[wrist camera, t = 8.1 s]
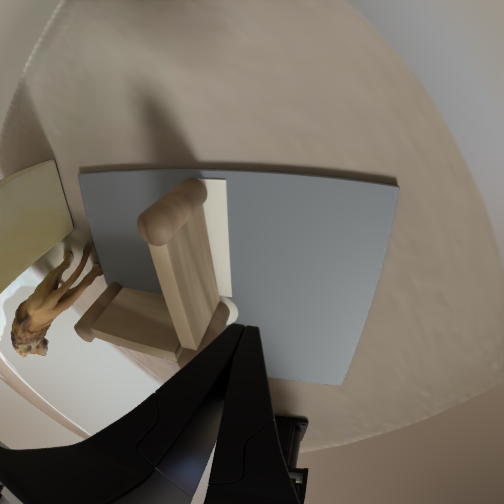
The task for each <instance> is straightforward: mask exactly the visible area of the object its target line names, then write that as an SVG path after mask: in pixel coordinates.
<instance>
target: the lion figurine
mask: <svg viewBox="0 0 504 504" xmlns="http://www.w3.org/2000/svg"><path fill="white" fill-rule="evenodd" d="M92 246H93V244H92V242H91V241H88V242H87V243H86V246H85V248H84V250H83V256H82V259H81V262H80V264H79V266H78V267H77V269H76V270H75V272H74V273H73V274H72V275H71V276H70V278H69V279H68V280H67V281H66V282H65V283H64V284H63V285H62V286H61V287H60V288H58V285H59V282H60V279H61V276H62V274H63V272H64V271H65V270H66V269H68V268H69V267H70V265H71V263H72V262H73V260H74V258H73V255H72V254H71V253H70V252H69V251H66V252H65V253H64V256H63V258H64V261H63V262H62V263H61V264H60V265H59V266H58V267H57V268H55V269H54V270H53V271H51V272H50V273H49V274H48V275H47V276H46V277H45V278H44V280H43V281H42V282H41V283H40V284H39V285H38V286H37V288H36V289H35V292H34V293H33V294H32V295H31V296H30V297H29V298H28V299H27V300H25V301H24V302H22V303H21V304H20V305H19V307H18V309H17V310H16V313H15V318H14V321H13V324H12V331H11V340H12V344H13V347H14V349H15V350H16V352H18V353H19V354H20V355H21V356H22V357H25V356H26V355H28V354H30V353H31V354H39V355H42V356H46V352H47V350H48V347H47V344H48V340H47V339H45V338H44V336H45V335H46V332H47V330H48V329H49V327H50V325H51V323H52V321H53V320H54V319H55V318H56V317H57V316H58V315H59V314H60V313H61V312H63V311H64V310H66V309H68V308H69V307H70V306H71V305H72V304H73V303H74V302H75V301H76V300H77V299H78V297H79V296H80V295H81V294H82V292H83V291H84V290H85V289H86V288H87V287H88V286H89V285H90V284H92V282H93V281H94V279H95V278H96V277H97V276H101V275H102V274H103V271H102V268H101V266H100V265H99V264H95V265H94V266H93V267H92V270H91V271H90V272H89V273H88V274H87V275H86V276H85V277H84V278H83V280H82V281H81V282H80V283H79V284H78V285H77V286H76V287H74V288H72V289H69V288H70V287H71V285H72V284H73V283H74V282H75V281H76V279H77V278H78V277H79V275H80V274H81V272H82V271H83V269H84V267H85V265H86V262H87V259H88V257H89V254H90V253H91V251H92V250H93V248H92ZM68 289H69V290H68Z"/></svg>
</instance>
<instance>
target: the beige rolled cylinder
mask: <svg viewBox="0 0 504 504" xmlns="http://www.w3.org/2000/svg"><path fill="white" fill-rule="evenodd" d="M206 199H207V189H206V186H205V185H204V184H203V183H202V182H201V181H200V180H198V179H196V178H188V179H186V180H184V181H183V182H181V183H180V184H179V185H177V186H176V187H175V188H173V189H172V190H171V191H169V192H168V193H167V194H165V195H164V196H163V197H161V198H160V199H159V200H157V201H156V202H155V203H154V204H152V205H151V206H150V207H148V208H147V209H146V210H145V211H143V212H142V213H141V214H140V215H139V217H138V219H137V229H138V232H139V234H140V236H141V237H142V238H143V239H144V240H145V241H146V242H147V243H148V245H149V248H150V252H151V255H152V259H153V262H154V266H155V269H156V272H157V276H158V279H159V282H160V285H161V288H162V292H163V295H164V298H165V301H166V304H167V307H168V310H169V313H170V316H171V318H172V321H173V324H174V327H175V330H176V333H177V335H178V338H179V341H180V343H181V346H182V348H187V349H193V350H197V349H198V347H199V345H200V343H201V340H202V338H203V336H204V334H205V332H206V329H207V327H208V325H209V323H210V321H211V318H212V316H213V314H214V312H215V310H216V307H217V305H218V303H219V301H220V298H219V293H218V288H217V283H216V277H215V272H214V266H213V261H212V255H211V250H210V244H209V238H208V232H207V226H206V220H205V214H204V208H203V203H204V202H205V201H206Z"/></svg>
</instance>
